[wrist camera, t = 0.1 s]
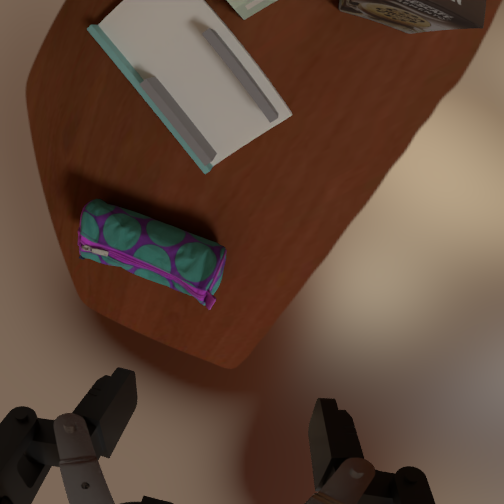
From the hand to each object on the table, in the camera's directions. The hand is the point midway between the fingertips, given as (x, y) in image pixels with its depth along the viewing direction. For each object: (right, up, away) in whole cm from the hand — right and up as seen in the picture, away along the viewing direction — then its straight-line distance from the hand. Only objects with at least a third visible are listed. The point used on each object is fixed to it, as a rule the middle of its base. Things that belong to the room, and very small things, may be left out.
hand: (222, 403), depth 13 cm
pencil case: (-12, +9, +33) cm, 37 cm away
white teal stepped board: (-6, +28, +19) cm, 35 cm away
